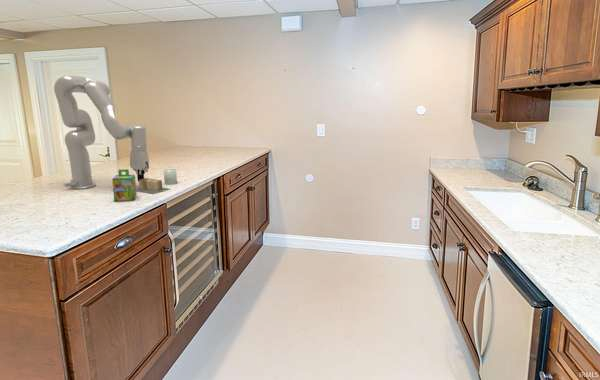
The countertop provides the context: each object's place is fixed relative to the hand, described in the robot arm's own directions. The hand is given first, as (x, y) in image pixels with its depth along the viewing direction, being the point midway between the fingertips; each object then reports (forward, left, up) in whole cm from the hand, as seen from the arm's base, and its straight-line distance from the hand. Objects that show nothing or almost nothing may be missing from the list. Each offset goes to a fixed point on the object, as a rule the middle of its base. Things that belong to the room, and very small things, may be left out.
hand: (140, 181), depth 208 cm
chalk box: (-20, -12, -4) cm, 24 cm away
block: (0, -1, -1) cm, 2 cm away
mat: (-1, -9, -4) cm, 10 cm away
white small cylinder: (+16, -6, -4) cm, 18 cm away
